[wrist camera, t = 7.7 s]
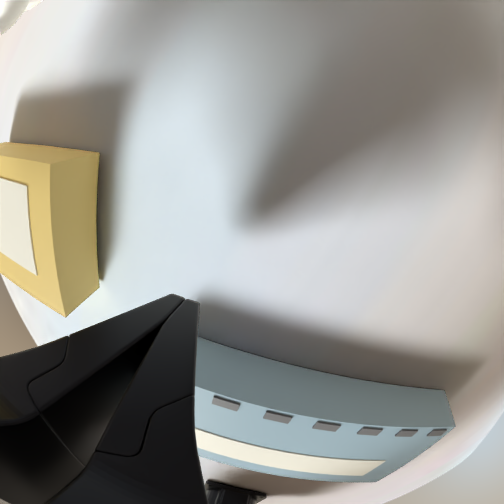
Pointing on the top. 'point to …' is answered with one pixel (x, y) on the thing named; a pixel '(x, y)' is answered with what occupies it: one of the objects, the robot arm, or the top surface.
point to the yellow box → (49, 222)
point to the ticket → (309, 418)
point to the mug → (13, 12)
